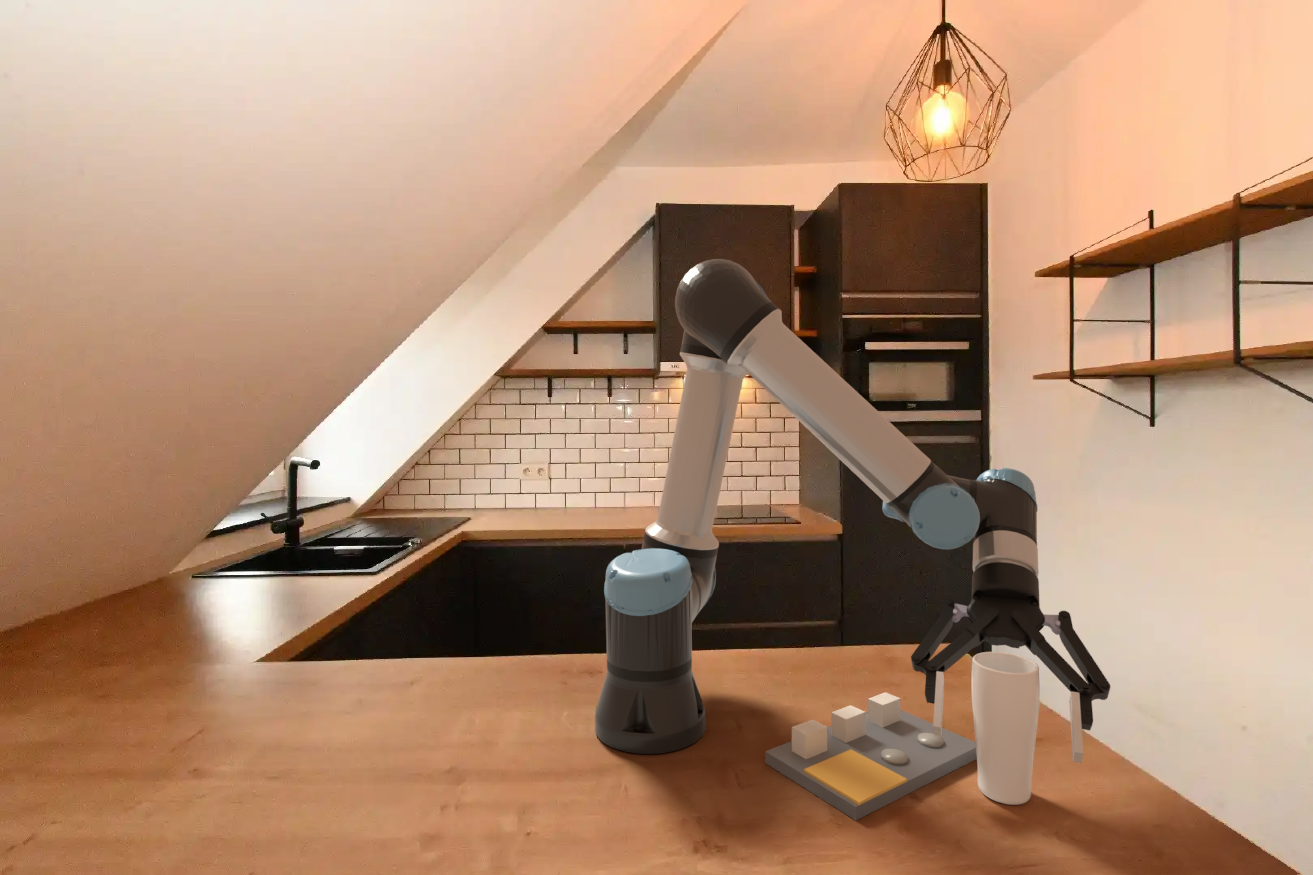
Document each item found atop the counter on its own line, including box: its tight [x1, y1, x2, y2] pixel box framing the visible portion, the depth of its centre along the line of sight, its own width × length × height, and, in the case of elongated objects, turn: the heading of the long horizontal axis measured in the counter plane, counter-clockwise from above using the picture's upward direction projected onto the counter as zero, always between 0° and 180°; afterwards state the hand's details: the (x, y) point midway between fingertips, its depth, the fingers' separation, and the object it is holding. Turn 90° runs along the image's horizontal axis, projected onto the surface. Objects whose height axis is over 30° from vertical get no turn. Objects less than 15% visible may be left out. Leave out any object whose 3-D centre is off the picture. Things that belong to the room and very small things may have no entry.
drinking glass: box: [970, 651, 1041, 806], centre depth 76 cm, size 7×7×15 cm
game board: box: [764, 691, 977, 821], centre depth 84 cm, size 14×23×4 cm, turn 123°
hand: (1004, 744), depth 74 cm, fingers open, 13 cm apart
